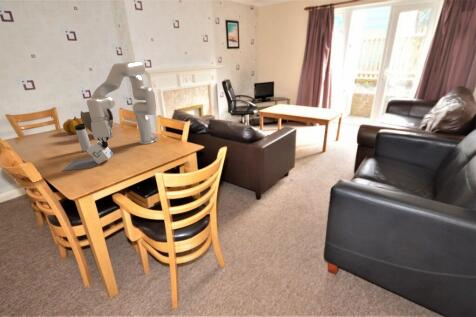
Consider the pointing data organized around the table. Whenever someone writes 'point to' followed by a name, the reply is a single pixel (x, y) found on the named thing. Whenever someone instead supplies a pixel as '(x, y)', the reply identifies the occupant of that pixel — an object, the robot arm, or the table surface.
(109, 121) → the clay pot
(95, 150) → the ink box
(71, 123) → the decorative pumpkin
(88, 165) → the rubber mat
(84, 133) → the travel mug
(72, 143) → the table surface
